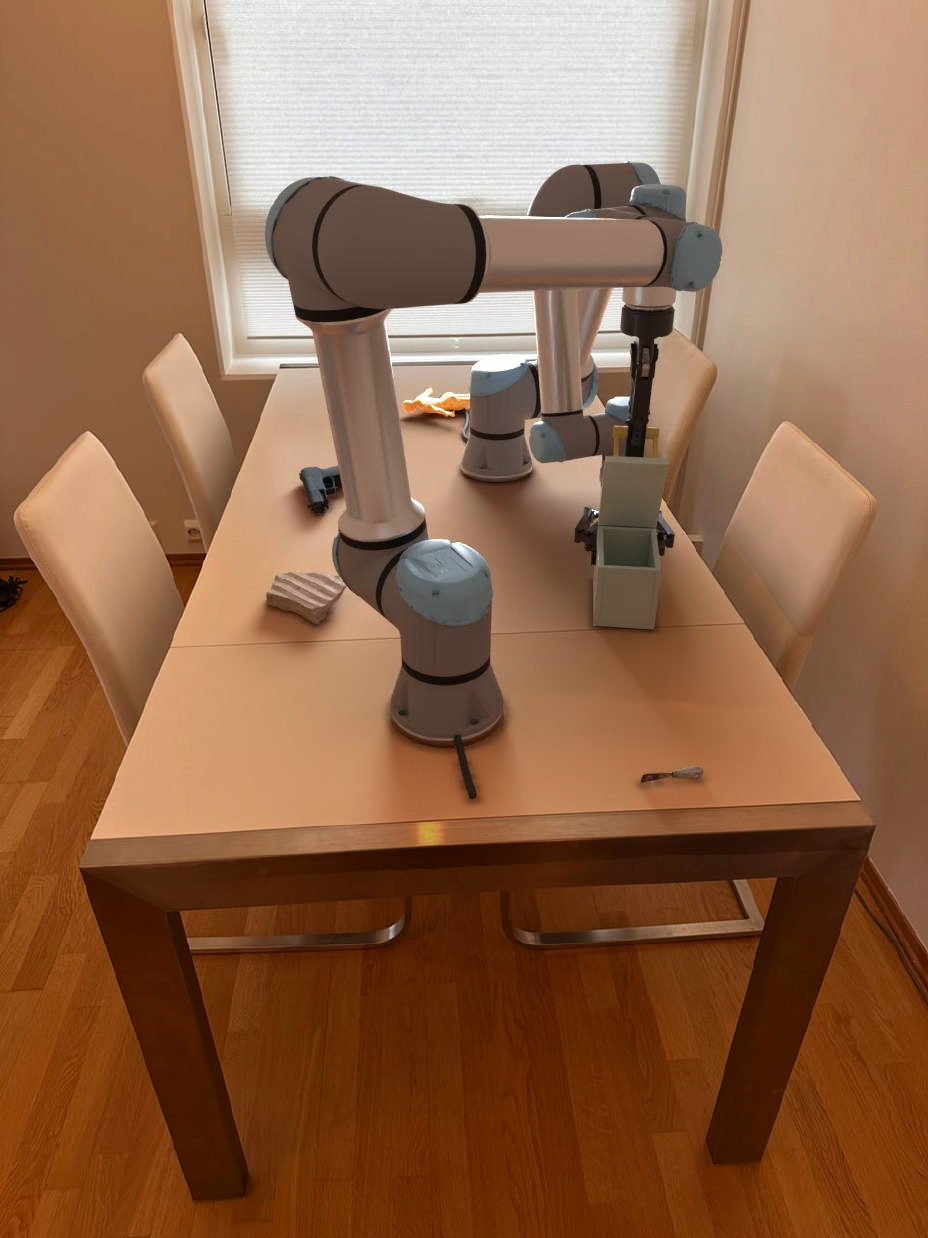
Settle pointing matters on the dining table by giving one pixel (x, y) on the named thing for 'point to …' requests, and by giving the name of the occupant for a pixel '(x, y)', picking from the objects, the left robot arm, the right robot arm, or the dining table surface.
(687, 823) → the dining table surface
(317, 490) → the handgun
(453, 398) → the human figure
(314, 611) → the stone
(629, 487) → the lid
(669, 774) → the putty knife
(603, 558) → the chest
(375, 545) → the left robot arm
